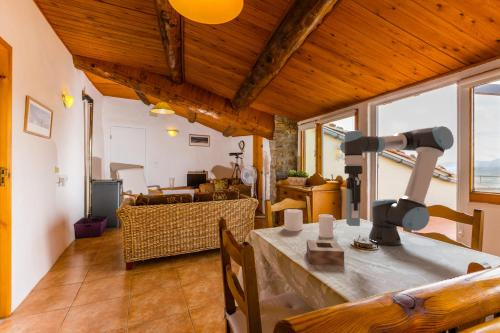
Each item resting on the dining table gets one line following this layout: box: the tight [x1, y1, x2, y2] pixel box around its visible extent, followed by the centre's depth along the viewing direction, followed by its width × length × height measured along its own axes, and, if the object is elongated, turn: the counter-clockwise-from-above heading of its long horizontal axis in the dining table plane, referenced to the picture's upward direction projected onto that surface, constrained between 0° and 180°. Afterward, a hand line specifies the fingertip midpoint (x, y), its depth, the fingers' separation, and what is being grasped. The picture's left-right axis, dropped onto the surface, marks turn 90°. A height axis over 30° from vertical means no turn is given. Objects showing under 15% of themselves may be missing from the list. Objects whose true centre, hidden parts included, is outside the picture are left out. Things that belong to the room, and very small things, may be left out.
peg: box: [345, 188, 361, 227], centre depth 108 cm, size 4×4×16 cm
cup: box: [283, 208, 304, 232], centre depth 156 cm, size 12×12×12 cm
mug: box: [318, 213, 337, 239], centre depth 141 cm, size 12×8×12 cm
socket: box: [306, 239, 345, 266], centre depth 108 cm, size 14×14×6 cm
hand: (353, 216), depth 108 cm, fingers closed on peg, 4 cm apart
